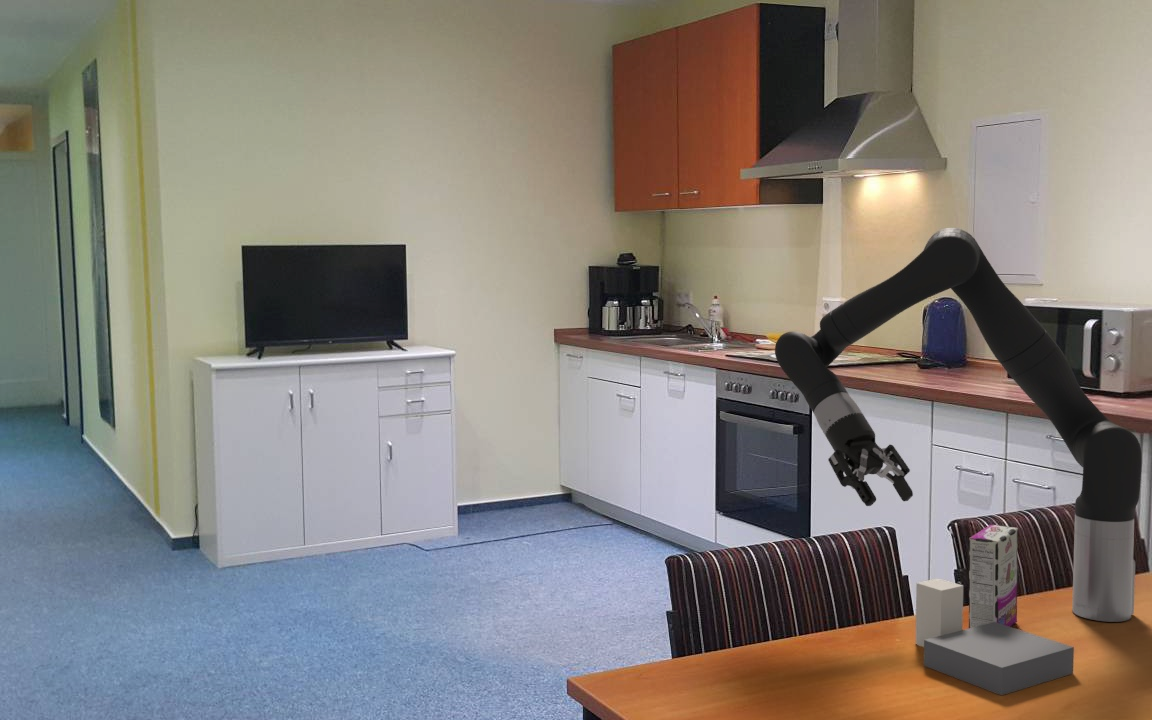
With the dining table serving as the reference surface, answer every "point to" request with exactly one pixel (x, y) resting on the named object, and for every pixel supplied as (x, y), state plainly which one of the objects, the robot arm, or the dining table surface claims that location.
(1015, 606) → the candy bar box
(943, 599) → the cream block
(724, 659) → the dining table surface
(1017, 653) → the base board
